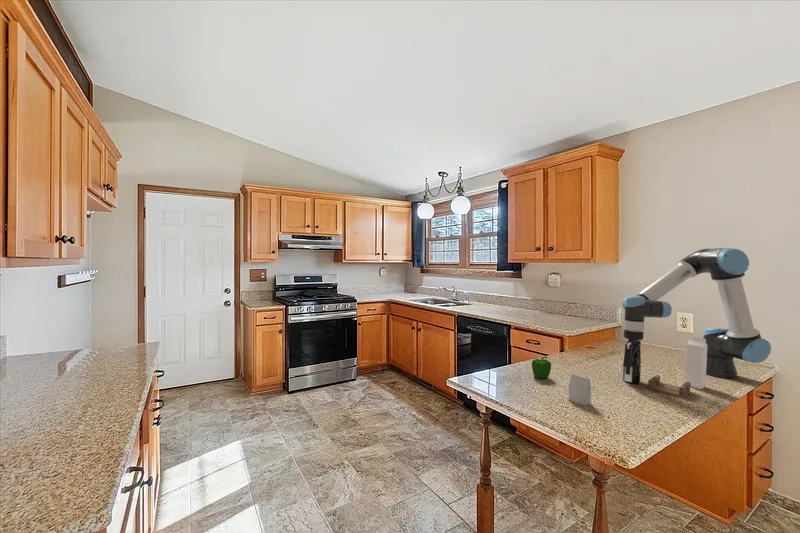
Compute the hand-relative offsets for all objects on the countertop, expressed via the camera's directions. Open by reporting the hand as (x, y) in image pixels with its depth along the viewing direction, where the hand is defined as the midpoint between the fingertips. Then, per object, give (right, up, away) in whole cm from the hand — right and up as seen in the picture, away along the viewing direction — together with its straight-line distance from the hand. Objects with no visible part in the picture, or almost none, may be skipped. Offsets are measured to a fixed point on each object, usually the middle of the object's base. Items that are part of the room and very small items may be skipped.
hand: (631, 379), depth 167 cm
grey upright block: (-36, -1, -25) cm, 44 cm away
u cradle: (+10, -2, -10) cm, 14 cm away
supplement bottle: (0, -2, 0) cm, 2 cm away
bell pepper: (-40, 0, +3) cm, 40 cm away
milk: (+27, -2, -3) cm, 27 cm away
